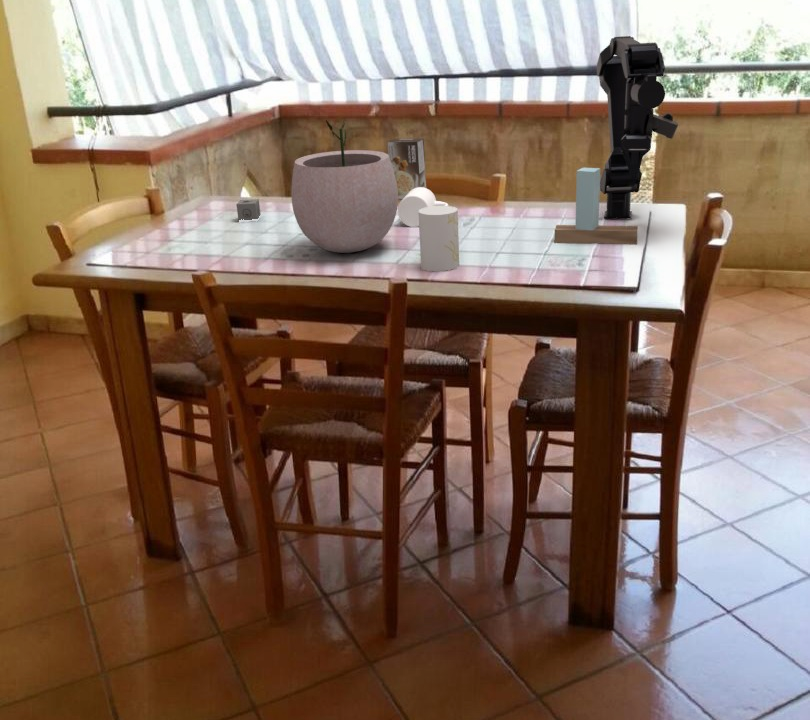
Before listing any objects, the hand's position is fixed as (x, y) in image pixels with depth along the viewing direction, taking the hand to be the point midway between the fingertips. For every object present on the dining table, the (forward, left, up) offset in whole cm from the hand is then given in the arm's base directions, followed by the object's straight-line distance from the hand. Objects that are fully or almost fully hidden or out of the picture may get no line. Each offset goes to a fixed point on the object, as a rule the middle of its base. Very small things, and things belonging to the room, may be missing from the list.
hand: (635, 175), depth 198 cm
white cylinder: (+30, -39, -13) cm, 51 cm away
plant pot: (+19, -63, -13) cm, 67 cm away
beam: (+8, -8, -13) cm, 17 cm away
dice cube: (-7, -99, -13) cm, 100 cm away
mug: (-7, -51, -13) cm, 53 cm away
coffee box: (-35, -63, -13) cm, 73 cm away
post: (+8, -10, -10) cm, 16 cm away
